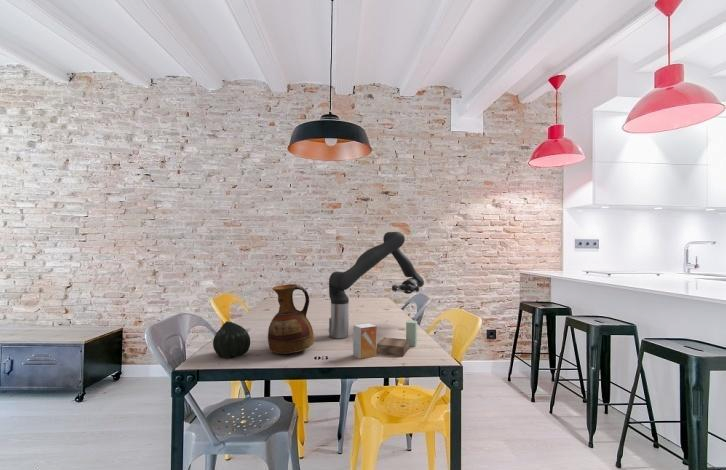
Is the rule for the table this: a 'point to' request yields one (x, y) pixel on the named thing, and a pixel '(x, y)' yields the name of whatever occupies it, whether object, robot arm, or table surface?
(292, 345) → the ceramic pitcher
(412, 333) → the sage block
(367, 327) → the small box
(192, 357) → the table surface
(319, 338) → the table surface
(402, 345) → the walnut base block
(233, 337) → the squash
